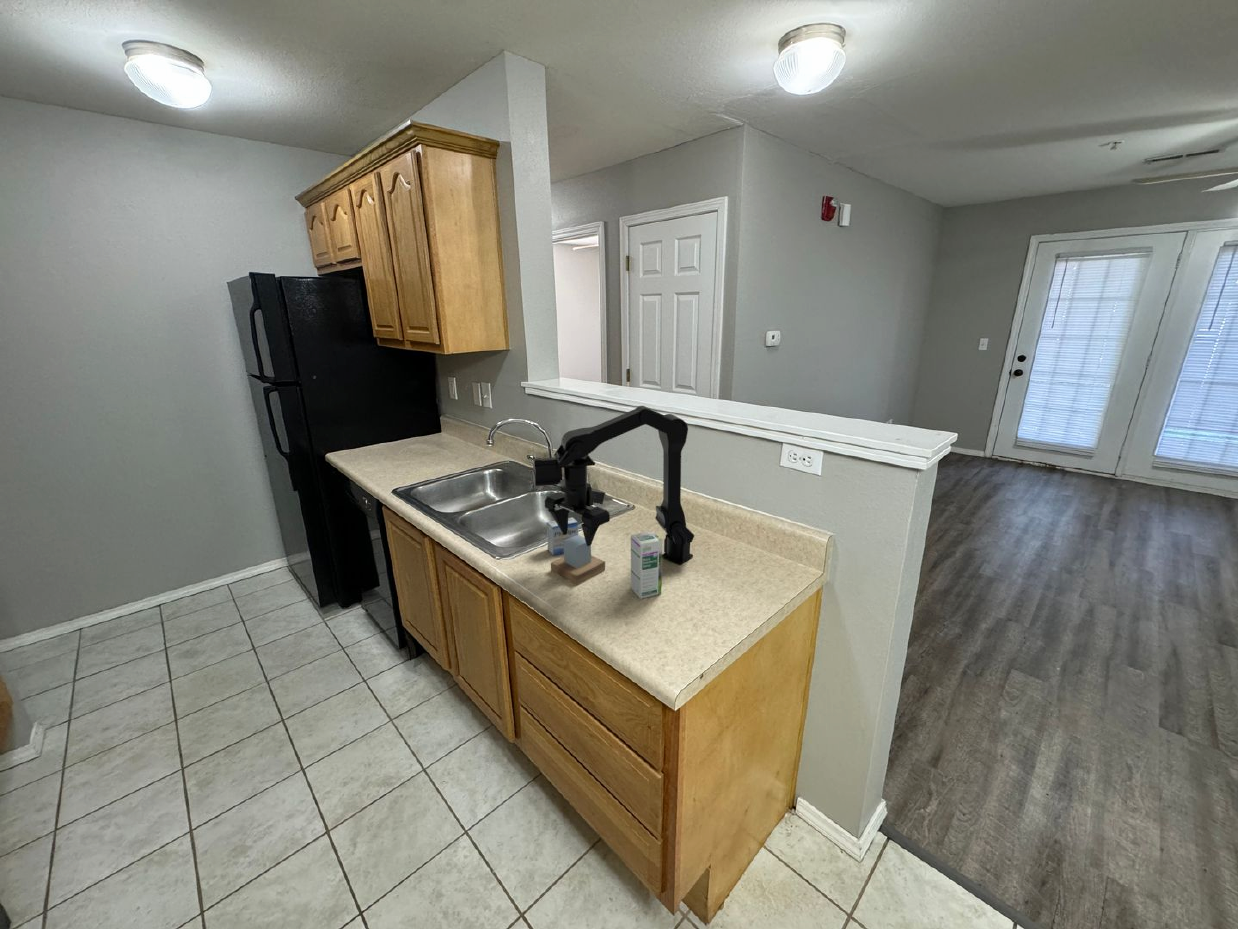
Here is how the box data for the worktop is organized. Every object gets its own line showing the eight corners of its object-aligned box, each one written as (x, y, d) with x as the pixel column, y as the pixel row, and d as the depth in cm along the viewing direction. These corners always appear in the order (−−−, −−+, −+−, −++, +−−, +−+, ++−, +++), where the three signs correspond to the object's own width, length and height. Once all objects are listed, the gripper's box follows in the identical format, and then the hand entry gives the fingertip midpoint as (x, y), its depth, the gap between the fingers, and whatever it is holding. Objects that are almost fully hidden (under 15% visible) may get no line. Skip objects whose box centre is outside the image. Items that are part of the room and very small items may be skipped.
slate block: (591, 561, 131) (590, 540, 129) (576, 568, 127) (575, 547, 126) (578, 555, 134) (578, 534, 132) (564, 561, 131) (563, 540, 129)
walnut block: (605, 572, 132) (605, 561, 131) (577, 586, 125) (577, 576, 124) (579, 559, 138) (578, 549, 137) (551, 573, 131) (550, 562, 130)
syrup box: (640, 599, 119) (641, 544, 114) (629, 587, 124) (630, 533, 119) (661, 594, 121) (663, 539, 116) (650, 582, 126) (651, 529, 122)
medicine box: (552, 556, 139) (551, 527, 136) (547, 549, 143) (546, 521, 140) (579, 549, 143) (578, 521, 140) (573, 543, 146) (572, 516, 144)
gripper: (625, 483, 123) (625, 541, 128) (575, 467, 136) (576, 520, 140) (592, 495, 116) (593, 556, 120) (542, 476, 128) (544, 532, 133)
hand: (576, 539), depth 129 cm, fingers open, 9 cm apart
